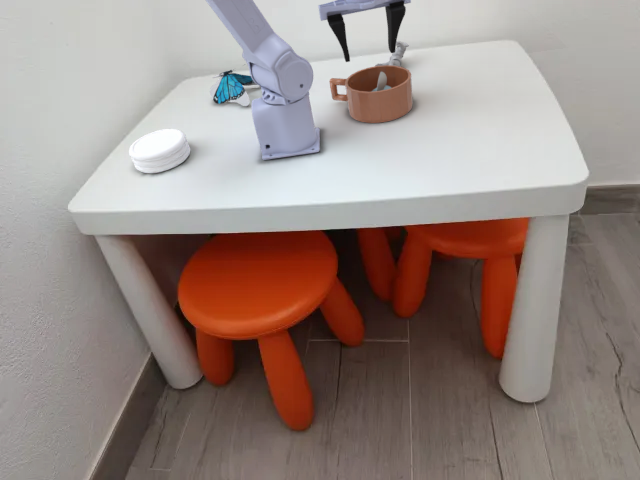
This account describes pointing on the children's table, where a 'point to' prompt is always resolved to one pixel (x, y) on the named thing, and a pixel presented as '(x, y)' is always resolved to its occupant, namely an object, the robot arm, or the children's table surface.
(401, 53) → the soldier figure
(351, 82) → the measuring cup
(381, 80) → the pacifier
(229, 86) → the decorative butterfly
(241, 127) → the children's table surface
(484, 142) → the children's table surface
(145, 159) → the white round disc
